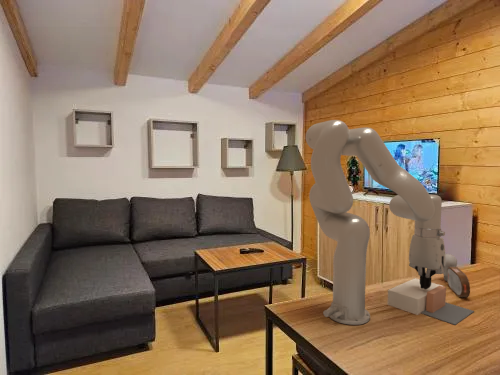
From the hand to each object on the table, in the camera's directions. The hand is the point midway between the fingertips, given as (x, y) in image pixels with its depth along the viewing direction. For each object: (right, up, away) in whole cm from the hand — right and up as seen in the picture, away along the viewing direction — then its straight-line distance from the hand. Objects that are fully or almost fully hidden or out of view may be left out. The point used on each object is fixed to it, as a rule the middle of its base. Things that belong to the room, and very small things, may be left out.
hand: (425, 287), depth 114 cm
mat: (+4, -6, -5) cm, 9 cm away
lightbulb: (+20, -4, +22) cm, 30 cm away
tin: (+17, -5, +11) cm, 21 cm away
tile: (+2, -3, -2) cm, 4 cm away
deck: (-2, -6, +3) cm, 7 cm away
